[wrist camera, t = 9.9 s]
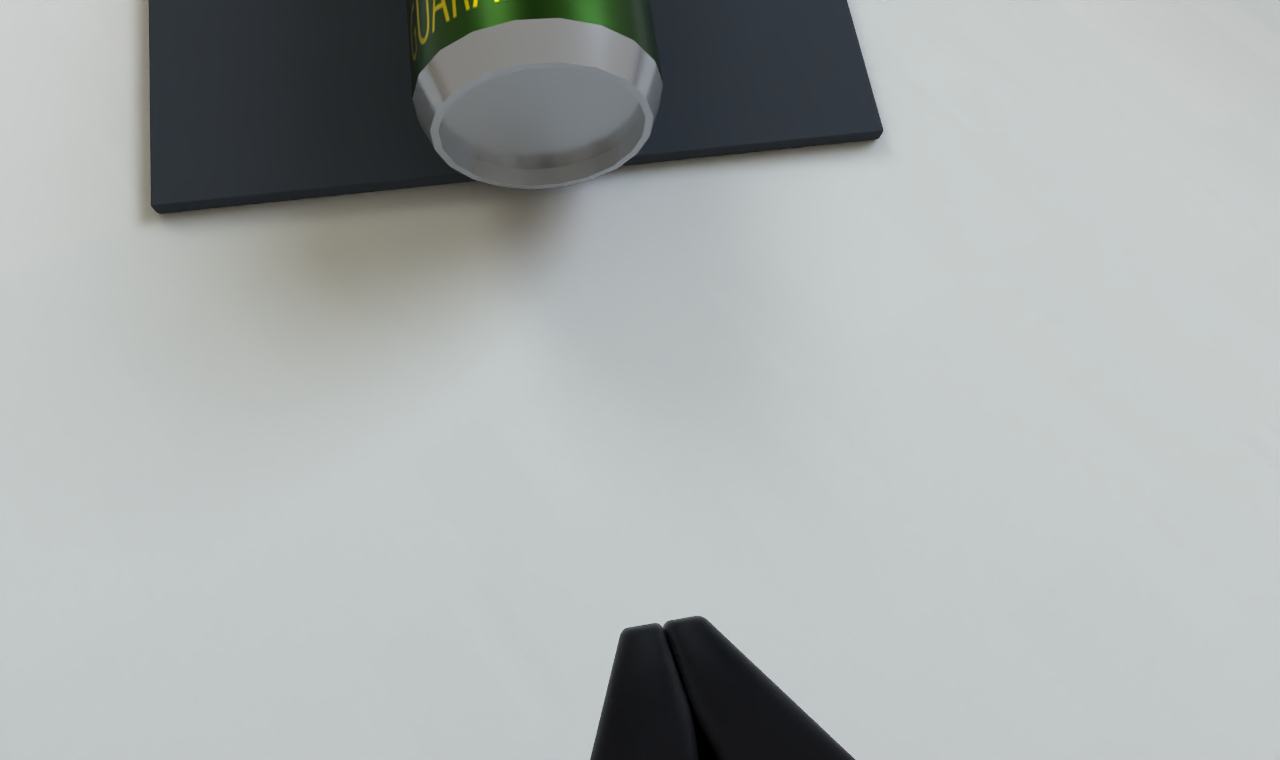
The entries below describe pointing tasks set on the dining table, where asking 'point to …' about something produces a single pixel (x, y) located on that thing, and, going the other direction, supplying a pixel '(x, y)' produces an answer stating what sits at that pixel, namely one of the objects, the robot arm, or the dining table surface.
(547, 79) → the guarana soda can
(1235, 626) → the dining table surface
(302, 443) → the dining table surface
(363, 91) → the mat
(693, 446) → the dining table surface
